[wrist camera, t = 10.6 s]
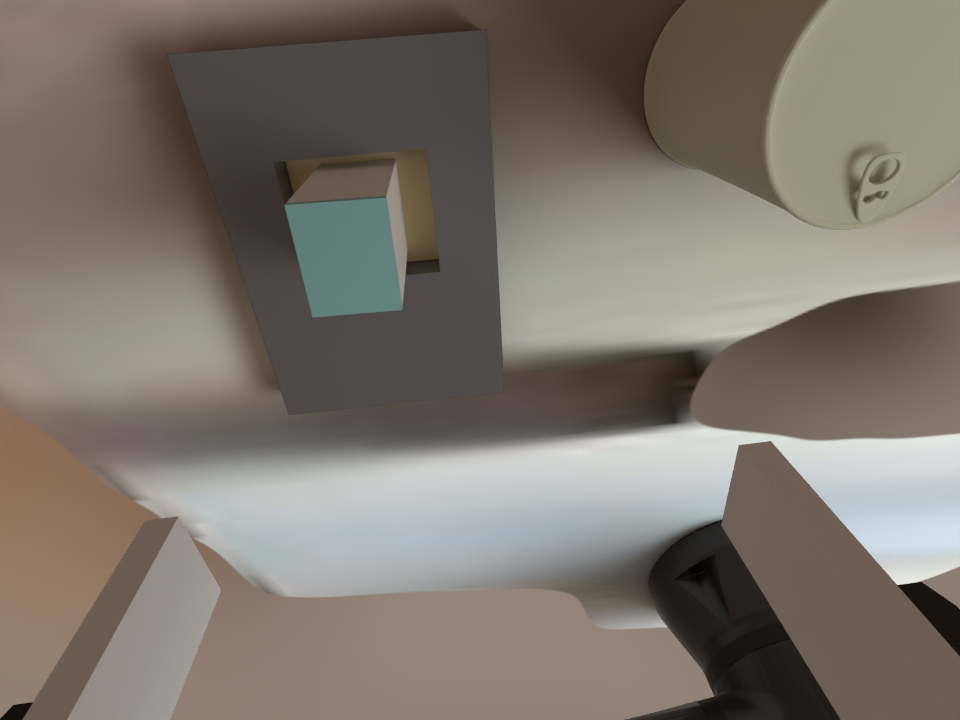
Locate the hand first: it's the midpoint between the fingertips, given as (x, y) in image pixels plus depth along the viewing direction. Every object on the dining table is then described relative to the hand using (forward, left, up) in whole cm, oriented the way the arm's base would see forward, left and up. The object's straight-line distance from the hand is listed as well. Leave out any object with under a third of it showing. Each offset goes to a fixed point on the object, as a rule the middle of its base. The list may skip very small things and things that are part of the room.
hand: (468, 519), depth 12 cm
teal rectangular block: (+2, +4, -21) cm, 21 cm away
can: (+7, -16, -21) cm, 28 cm away
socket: (0, +4, -21) cm, 22 cm away
